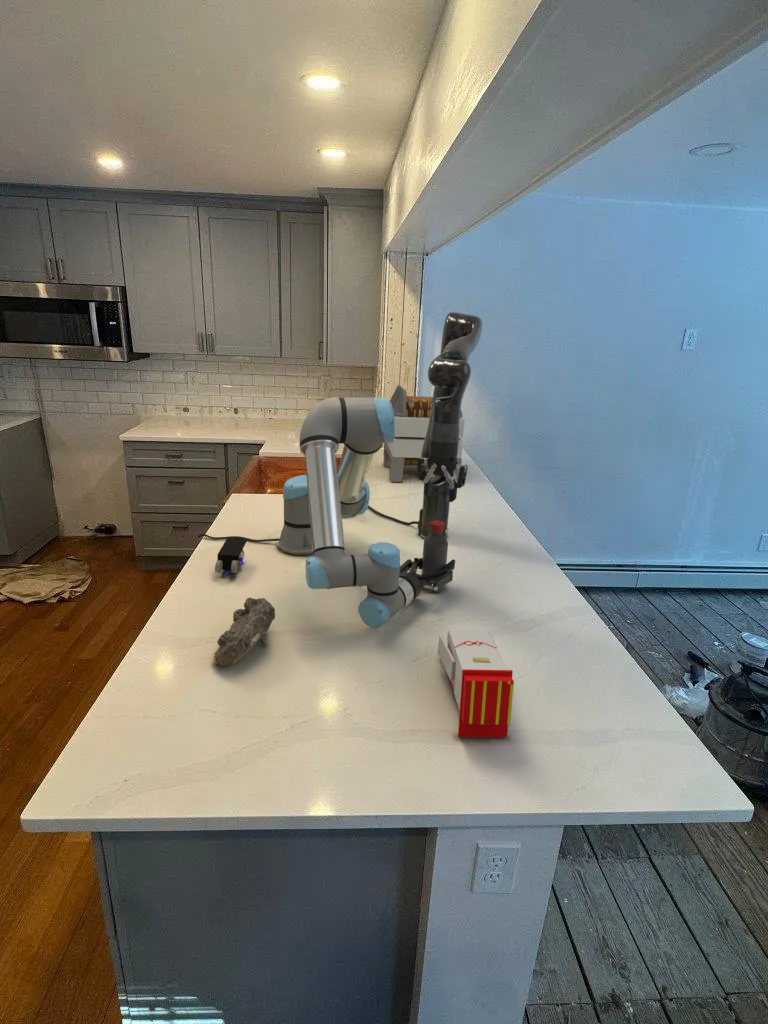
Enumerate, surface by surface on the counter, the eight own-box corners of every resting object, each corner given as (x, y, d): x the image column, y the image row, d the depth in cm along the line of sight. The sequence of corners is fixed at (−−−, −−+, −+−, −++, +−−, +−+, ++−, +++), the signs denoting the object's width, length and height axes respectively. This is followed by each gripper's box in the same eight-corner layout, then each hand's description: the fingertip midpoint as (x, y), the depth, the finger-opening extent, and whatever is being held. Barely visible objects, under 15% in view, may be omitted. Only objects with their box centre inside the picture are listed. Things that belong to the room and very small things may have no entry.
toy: (488, 613, 130) (523, 677, 101) (484, 667, 133) (517, 744, 104) (435, 612, 130) (455, 676, 101) (432, 666, 133) (451, 743, 103)
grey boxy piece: (382, 463, 289) (386, 382, 275) (445, 464, 293) (451, 384, 279) (390, 482, 257) (394, 392, 243) (460, 483, 261) (468, 394, 247)
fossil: (230, 601, 141) (273, 572, 136) (255, 627, 144) (299, 600, 139) (195, 660, 122) (245, 629, 117) (226, 689, 125) (276, 660, 120)
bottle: (426, 579, 167) (430, 518, 160) (447, 585, 164) (453, 523, 157) (416, 589, 161) (421, 525, 154) (438, 595, 158) (444, 530, 152)
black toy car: (238, 584, 162) (249, 557, 175) (236, 562, 158) (247, 536, 172) (215, 584, 161) (227, 556, 175) (212, 561, 158) (225, 535, 171)
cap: (433, 526, 159) (433, 519, 158) (446, 529, 157) (446, 522, 157) (427, 530, 156) (428, 523, 155) (440, 533, 154) (441, 526, 153)
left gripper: (369, 592, 152) (411, 563, 170) (435, 614, 142) (472, 581, 161) (370, 567, 149) (413, 540, 168) (437, 588, 140) (474, 557, 158)
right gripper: (475, 439, 147) (469, 500, 153) (426, 431, 154) (422, 490, 160) (463, 444, 141) (457, 508, 147) (413, 436, 148) (409, 496, 154)
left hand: (441, 560), depth 164 cm, fingers closed on bottle, 7 cm apart
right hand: (439, 498), depth 153 cm, fingers open, 6 cm apart
